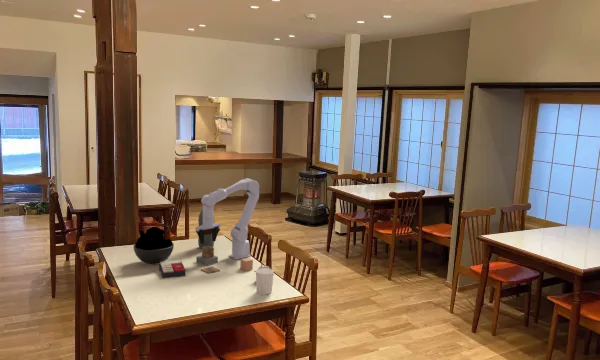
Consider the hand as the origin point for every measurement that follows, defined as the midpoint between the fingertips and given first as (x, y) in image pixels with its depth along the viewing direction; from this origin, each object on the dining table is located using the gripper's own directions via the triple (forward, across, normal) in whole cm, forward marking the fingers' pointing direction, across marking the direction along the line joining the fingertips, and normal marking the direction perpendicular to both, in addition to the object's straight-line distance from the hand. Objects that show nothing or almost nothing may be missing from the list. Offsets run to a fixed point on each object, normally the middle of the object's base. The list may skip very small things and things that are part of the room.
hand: (208, 242), depth 253 cm
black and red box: (+11, +24, +4) cm, 27 cm away
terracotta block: (+10, -8, +23) cm, 27 cm away
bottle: (+11, -13, -21) cm, 27 cm away
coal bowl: (+10, +24, -13) cm, 30 cm away
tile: (+10, +8, +14) cm, 19 cm away
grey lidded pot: (+11, -4, +42) cm, 44 cm away
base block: (+11, +2, +2) cm, 11 cm away
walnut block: (+7, +1, +2) cm, 8 cm away
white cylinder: (+11, +5, +53) cm, 54 cm away
